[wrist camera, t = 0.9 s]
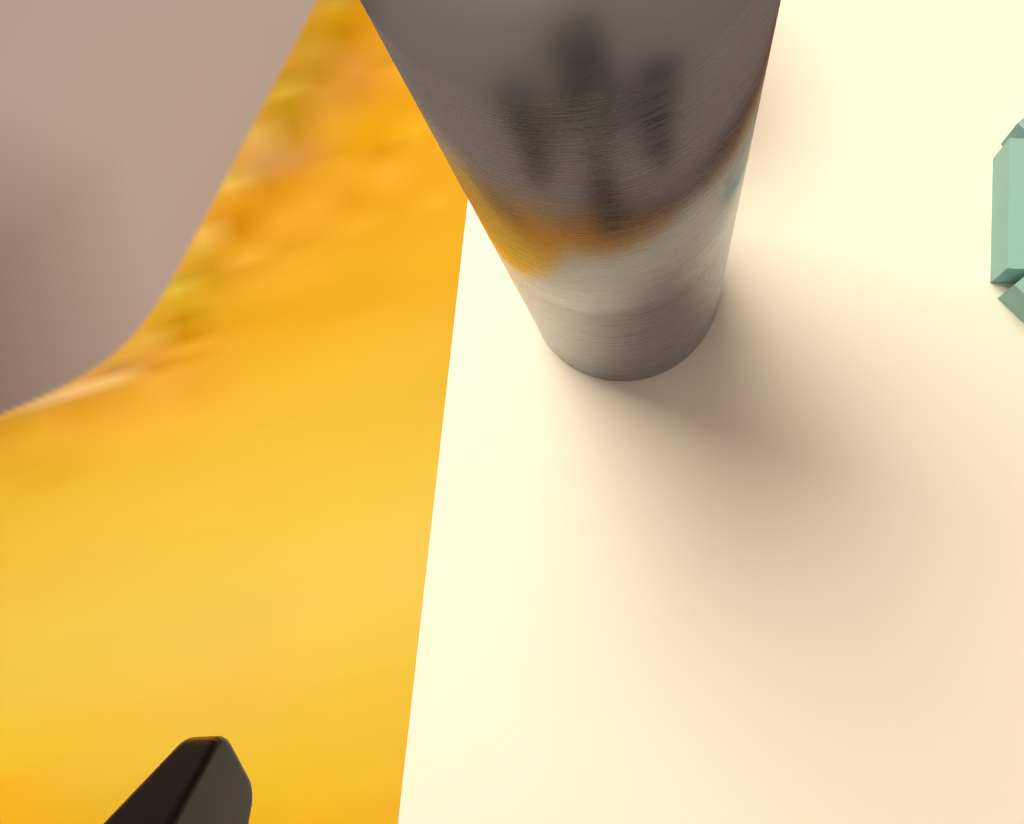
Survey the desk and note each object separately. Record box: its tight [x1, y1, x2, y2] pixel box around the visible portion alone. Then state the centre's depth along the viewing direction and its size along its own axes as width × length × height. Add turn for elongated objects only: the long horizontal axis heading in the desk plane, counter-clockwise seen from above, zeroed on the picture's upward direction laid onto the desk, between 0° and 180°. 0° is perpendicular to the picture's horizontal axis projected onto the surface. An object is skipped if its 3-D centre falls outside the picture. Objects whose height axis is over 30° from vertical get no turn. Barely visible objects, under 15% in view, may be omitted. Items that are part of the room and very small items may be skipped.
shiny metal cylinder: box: [360, 0, 781, 381], centre depth 15 cm, size 4×4×13 cm
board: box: [398, 0, 1024, 824], centre depth 20 cm, size 24×24×3 cm
